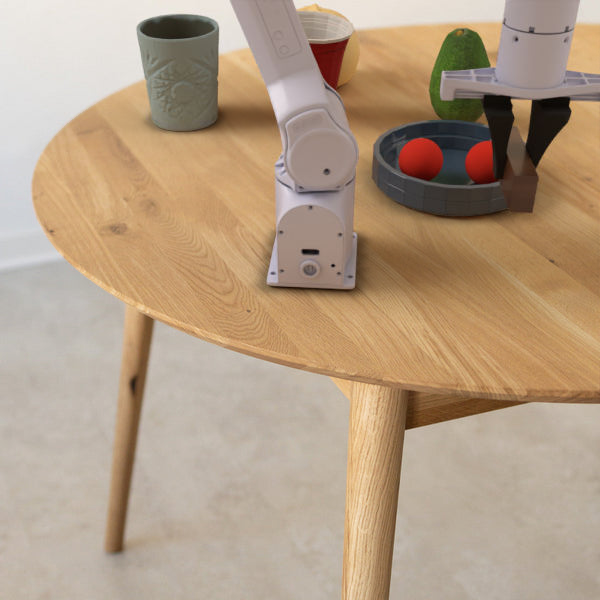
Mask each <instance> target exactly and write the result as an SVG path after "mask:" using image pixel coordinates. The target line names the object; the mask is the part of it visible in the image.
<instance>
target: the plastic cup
mask: <svg viewBox="0 0 600 600" xmlns="http://www.w3.org/2000/svg"><path fill="white" fill-rule="evenodd" d="M297 13H298V16H299V18H300V21H301V24H302V26H303V29H304V32H305V34H306V37H307V40H308V42H309V45H310V48H311V50H312V53H313V55H314V58H315V60H316V62H317V64H318V67H319V70H320V72H321V75H322V77H323V79H324V80H325V82H326V83H327V84H328V85H329V86H330V87H332V88H333V89H334V90H335V91H336V92H337V89H338V86H337V85H338V80H339V75H340V70H341V66H342V61H343V56H344V52H345V50H346V46H347V44H348V41H349V38H350V37H351V35H352V34H353V33H354V31H356V28H355V26H354V24H353V22H351V21H350V20H349V21H350V22H349V21H347V20H346V19H344V18H342V17H339V16H336V15H333V14H329V13H323V12H317V11H297Z"/></svg>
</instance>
